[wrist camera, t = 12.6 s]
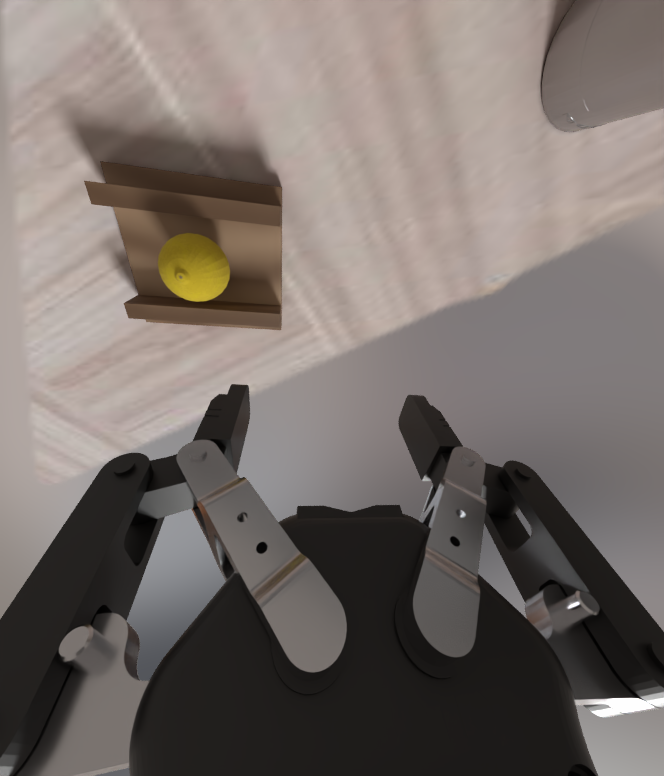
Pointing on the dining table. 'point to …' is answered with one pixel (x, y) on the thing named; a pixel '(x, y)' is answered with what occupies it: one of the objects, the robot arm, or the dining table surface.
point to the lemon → (193, 267)
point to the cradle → (207, 218)
